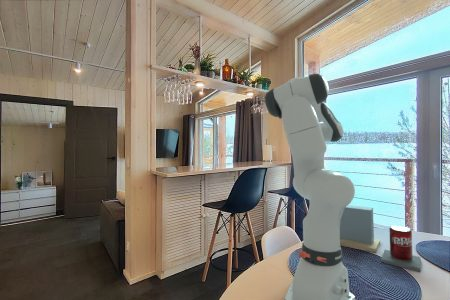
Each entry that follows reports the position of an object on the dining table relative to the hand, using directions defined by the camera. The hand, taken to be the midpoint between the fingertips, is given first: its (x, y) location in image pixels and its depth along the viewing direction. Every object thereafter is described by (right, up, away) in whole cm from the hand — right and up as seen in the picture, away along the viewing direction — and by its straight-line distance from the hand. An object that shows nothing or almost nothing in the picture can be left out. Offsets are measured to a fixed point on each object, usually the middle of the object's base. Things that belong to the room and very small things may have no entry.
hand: (310, 177), depth 107 cm
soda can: (+31, -31, -14) cm, 46 cm away
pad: (+31, -32, -14) cm, 47 cm away
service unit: (+24, -33, +5) cm, 41 cm away
